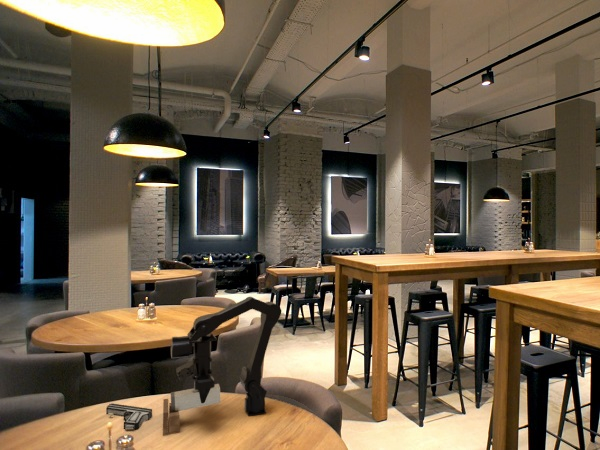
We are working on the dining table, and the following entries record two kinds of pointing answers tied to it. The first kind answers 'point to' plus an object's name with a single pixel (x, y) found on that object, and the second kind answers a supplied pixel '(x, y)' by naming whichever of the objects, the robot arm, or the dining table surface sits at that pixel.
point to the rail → (193, 399)
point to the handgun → (130, 415)
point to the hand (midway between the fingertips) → (202, 400)
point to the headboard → (170, 419)
